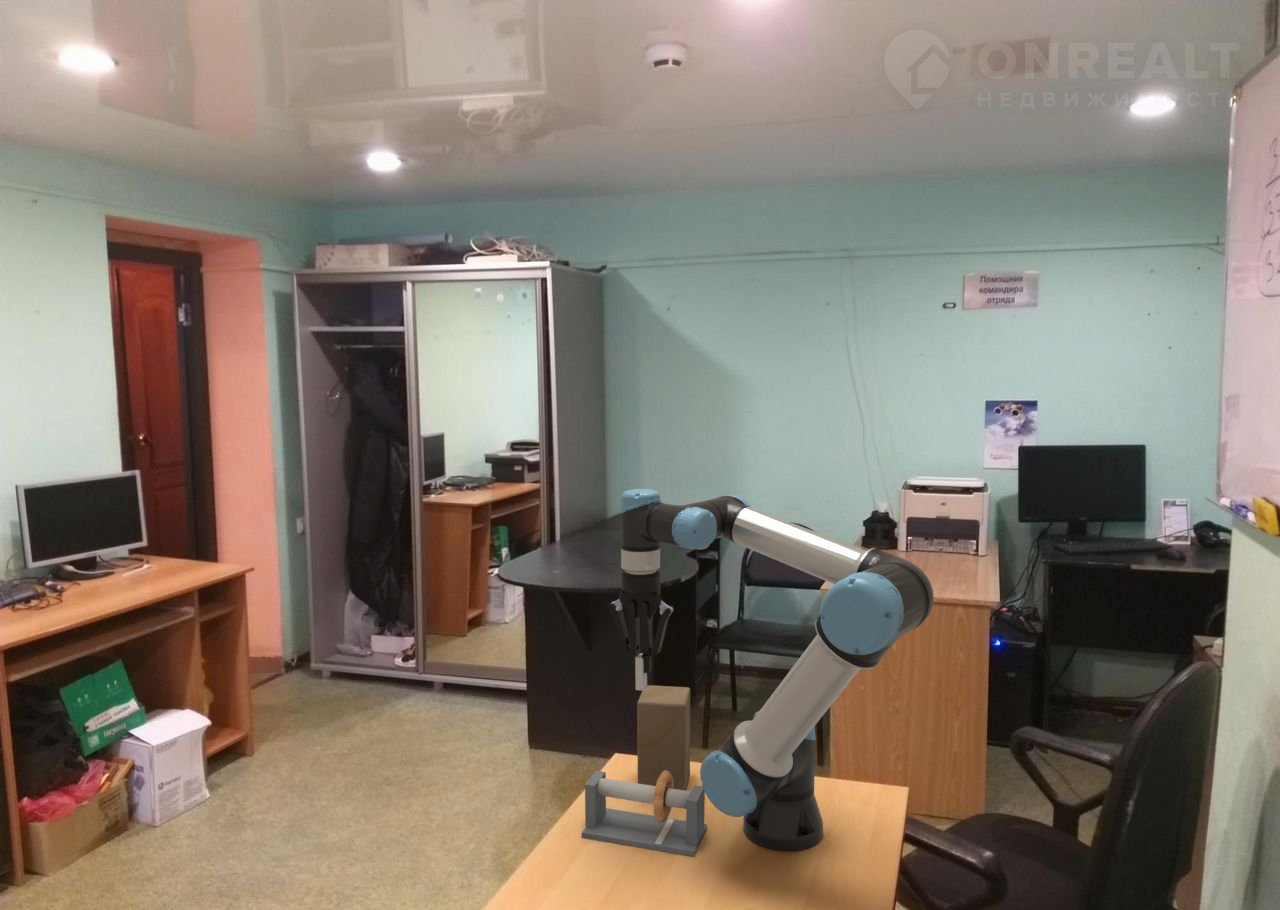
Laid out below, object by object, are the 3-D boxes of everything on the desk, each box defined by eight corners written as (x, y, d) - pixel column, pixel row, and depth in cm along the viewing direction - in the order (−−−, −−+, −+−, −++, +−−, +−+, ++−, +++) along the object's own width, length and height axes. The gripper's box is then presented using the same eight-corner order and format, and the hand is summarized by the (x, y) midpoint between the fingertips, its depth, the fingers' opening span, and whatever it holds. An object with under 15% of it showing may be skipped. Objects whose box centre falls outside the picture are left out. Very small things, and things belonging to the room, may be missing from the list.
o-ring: (674, 808, 174) (674, 764, 173) (661, 830, 166) (661, 785, 165) (665, 806, 175) (665, 763, 174) (652, 829, 166) (652, 784, 165)
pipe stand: (706, 829, 173) (707, 781, 172) (693, 856, 164) (693, 806, 162) (600, 811, 180) (599, 765, 179) (581, 837, 170) (581, 788, 169)
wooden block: (637, 793, 187) (636, 701, 185) (644, 772, 197) (644, 684, 195) (684, 797, 186) (684, 704, 183) (690, 775, 195) (690, 686, 193)
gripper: (678, 567, 174) (678, 684, 177) (615, 563, 178) (616, 677, 181) (667, 576, 167) (667, 698, 170) (602, 571, 171) (603, 691, 174)
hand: (641, 687), depth 175 cm, fingers closed
